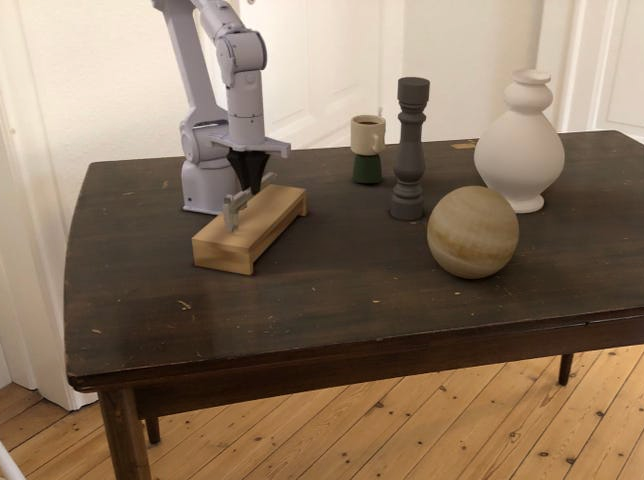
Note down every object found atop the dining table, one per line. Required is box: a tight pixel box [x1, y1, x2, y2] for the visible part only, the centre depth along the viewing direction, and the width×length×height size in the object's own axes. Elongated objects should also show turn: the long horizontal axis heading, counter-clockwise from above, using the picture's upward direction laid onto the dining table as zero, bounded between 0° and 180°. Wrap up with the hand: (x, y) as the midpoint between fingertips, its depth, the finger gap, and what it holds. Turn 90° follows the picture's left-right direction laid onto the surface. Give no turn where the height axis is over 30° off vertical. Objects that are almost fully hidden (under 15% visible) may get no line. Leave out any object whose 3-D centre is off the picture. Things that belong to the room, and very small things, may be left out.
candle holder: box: [390, 76, 431, 221], centre depth 137 cm, size 6×6×25 cm
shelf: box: [191, 183, 308, 276], centre depth 131 cm, size 10×26×5 cm, turn 165°
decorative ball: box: [426, 185, 520, 280], centre depth 121 cm, size 15×15×15 cm
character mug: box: [350, 114, 387, 185], centre depth 153 cm, size 11×7×13 cm, turn 24°
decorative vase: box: [473, 68, 566, 214], centre depth 145 cm, size 18×18×25 cm
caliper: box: [223, 171, 278, 233], centre depth 127 cm, size 20×1×6 cm, turn 166°
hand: (251, 192), depth 128 cm, fingers closed on caliper, 1 cm apart
